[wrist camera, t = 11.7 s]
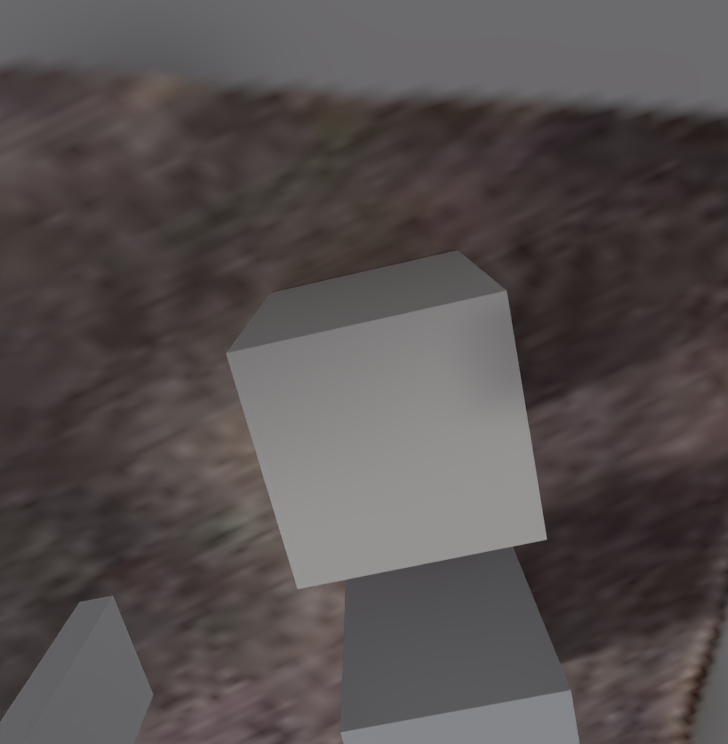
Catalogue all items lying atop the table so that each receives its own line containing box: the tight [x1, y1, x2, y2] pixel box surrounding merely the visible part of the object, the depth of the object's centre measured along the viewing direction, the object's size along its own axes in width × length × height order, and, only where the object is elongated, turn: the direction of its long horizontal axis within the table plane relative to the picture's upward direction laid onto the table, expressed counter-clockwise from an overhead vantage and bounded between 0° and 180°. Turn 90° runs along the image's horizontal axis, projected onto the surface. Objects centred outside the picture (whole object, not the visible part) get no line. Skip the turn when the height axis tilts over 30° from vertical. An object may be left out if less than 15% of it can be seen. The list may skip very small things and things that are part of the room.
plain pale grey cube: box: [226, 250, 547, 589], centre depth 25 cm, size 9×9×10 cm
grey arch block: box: [340, 547, 579, 744], centre depth 30 cm, size 9×9×10 cm
